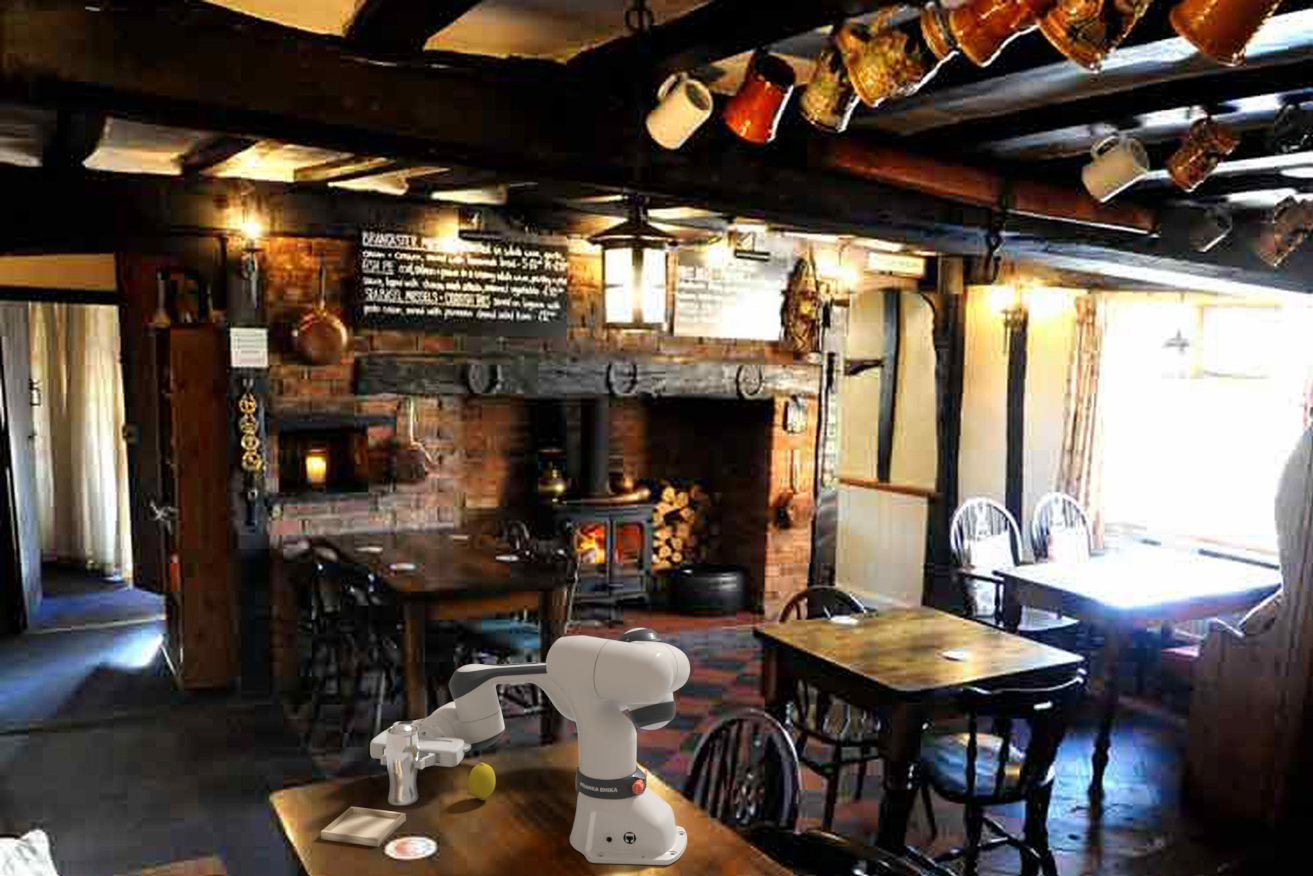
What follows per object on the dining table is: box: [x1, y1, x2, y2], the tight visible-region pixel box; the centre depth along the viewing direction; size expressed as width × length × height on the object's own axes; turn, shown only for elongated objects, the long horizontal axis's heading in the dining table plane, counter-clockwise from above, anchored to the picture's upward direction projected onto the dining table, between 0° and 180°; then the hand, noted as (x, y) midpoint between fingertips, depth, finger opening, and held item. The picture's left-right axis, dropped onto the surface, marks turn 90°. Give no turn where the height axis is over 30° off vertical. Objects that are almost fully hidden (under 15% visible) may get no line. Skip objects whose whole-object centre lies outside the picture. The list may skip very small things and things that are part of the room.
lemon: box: [468, 762, 497, 801], centre depth 206 cm, size 6×6×8 cm
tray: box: [320, 805, 407, 848], centre depth 192 cm, size 12×11×2 cm
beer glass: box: [386, 724, 420, 807], centre depth 205 cm, size 7×7×15 cm
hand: (400, 763), depth 204 cm, fingers closed on beer glass, 6 cm apart
